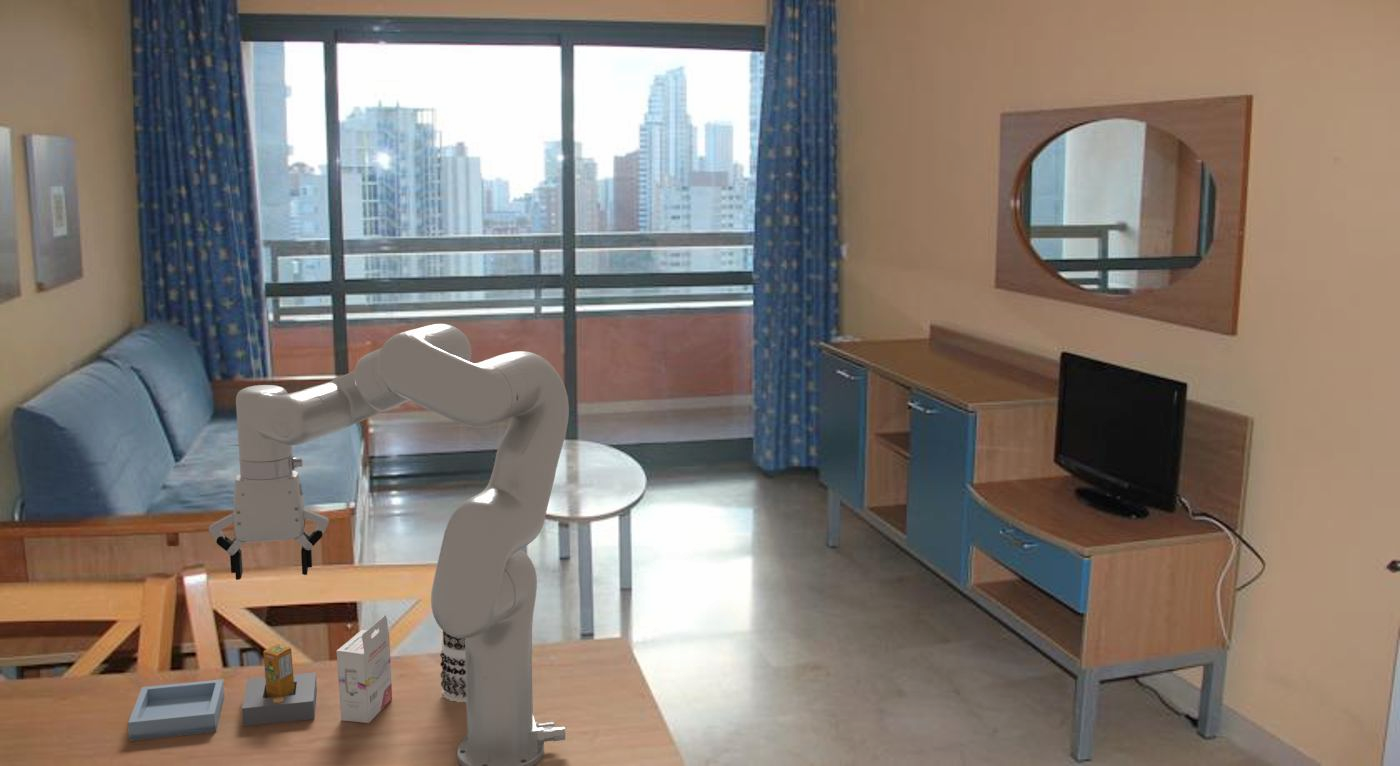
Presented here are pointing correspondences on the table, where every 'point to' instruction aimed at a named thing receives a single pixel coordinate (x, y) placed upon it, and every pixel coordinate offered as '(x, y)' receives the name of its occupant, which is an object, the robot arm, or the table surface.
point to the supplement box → (279, 671)
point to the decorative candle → (453, 668)
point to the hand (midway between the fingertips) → (272, 574)
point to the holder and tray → (215, 707)
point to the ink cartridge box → (365, 673)
